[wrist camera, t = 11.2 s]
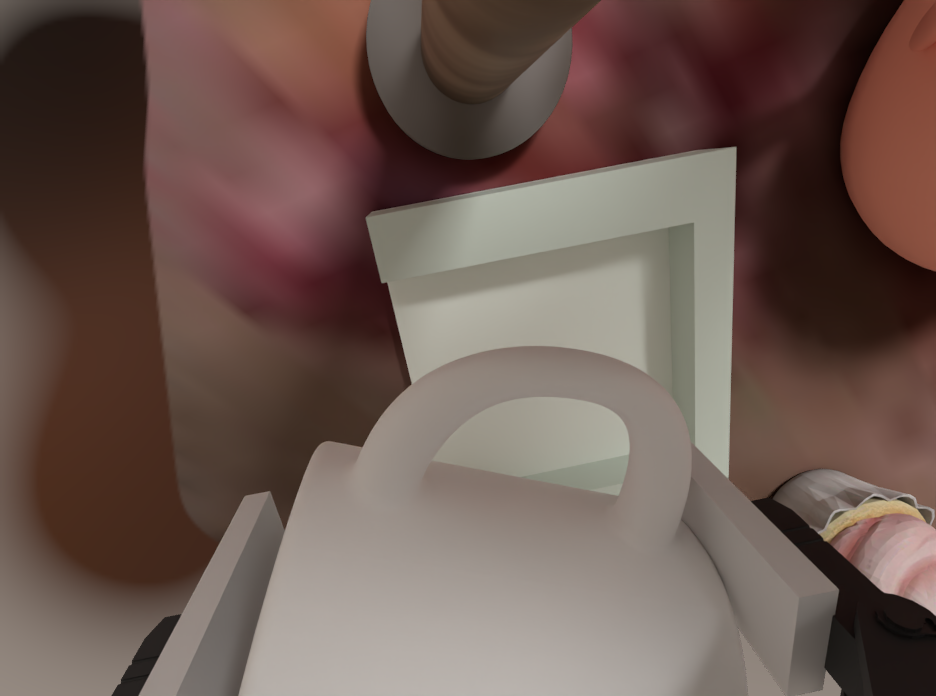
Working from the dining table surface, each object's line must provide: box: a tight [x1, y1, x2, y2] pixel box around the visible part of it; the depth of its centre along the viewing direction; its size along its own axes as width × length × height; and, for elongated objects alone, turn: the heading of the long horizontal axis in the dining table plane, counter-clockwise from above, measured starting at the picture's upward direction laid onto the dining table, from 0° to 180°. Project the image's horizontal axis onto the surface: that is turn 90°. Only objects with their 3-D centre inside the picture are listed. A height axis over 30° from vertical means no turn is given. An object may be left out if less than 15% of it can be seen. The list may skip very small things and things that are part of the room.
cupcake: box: [773, 469, 936, 616], centre depth 29 cm, size 9×9×10 cm
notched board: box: [366, 147, 736, 496], centre depth 27 cm, size 17×20×3 cm
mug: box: [238, 346, 748, 696], centre depth 12 cm, size 12×10×8 cm
